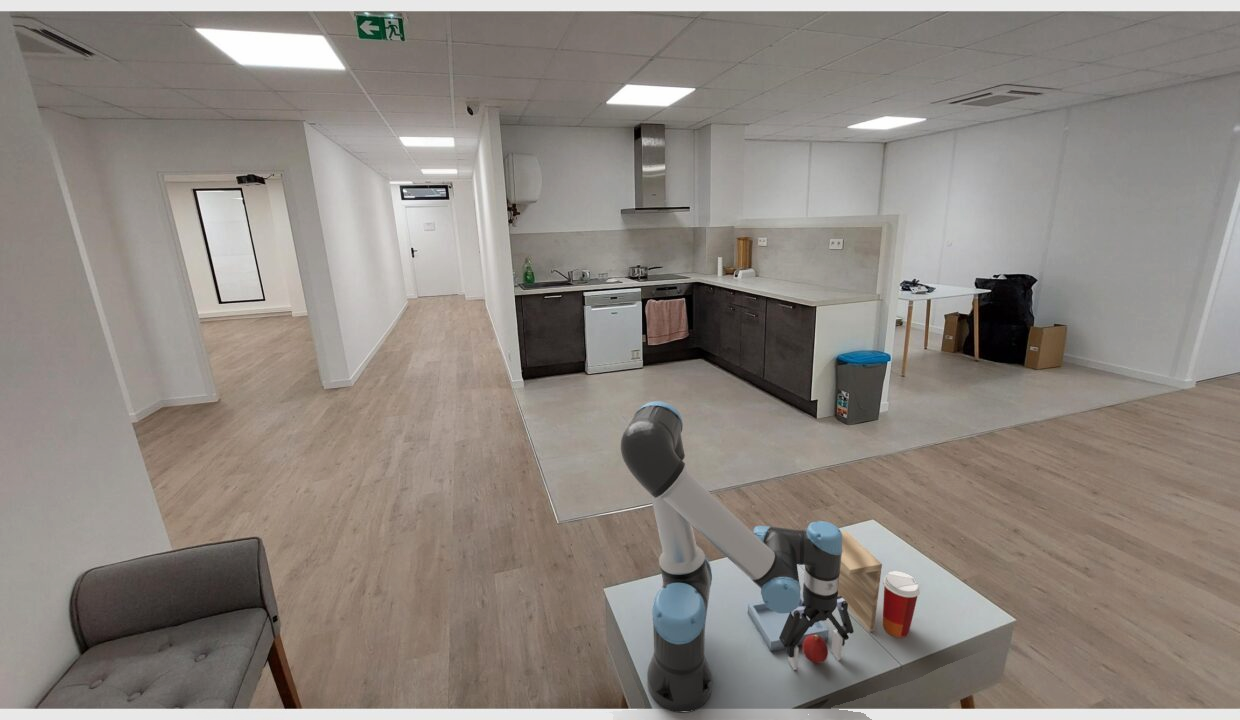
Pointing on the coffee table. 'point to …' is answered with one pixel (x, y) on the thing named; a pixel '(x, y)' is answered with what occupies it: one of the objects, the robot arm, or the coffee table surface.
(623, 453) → the robot arm
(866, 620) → the wooden l-shaped bracket
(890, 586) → the coffee cup
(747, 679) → the coffee table surface
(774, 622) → the tray
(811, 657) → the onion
